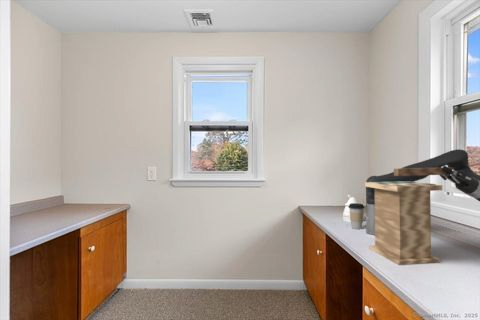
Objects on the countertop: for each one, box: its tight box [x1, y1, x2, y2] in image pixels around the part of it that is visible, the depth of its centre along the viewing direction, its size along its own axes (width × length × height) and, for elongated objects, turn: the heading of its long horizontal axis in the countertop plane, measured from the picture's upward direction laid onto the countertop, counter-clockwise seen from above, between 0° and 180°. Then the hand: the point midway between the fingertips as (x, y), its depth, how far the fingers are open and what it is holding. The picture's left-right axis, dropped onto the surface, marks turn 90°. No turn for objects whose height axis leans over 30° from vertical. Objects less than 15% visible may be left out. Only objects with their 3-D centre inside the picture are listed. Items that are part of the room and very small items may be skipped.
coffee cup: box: [349, 202, 365, 230], centre depth 184 cm, size 9×9×15 cm
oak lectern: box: [364, 181, 443, 266], centre depth 132 cm, size 20×24×32 cm
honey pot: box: [342, 194, 364, 223], centre depth 206 cm, size 13×13×18 cm
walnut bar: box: [393, 166, 454, 176], centre depth 127 cm, size 26×3×3 cm, turn 97°
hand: (440, 167), depth 128 cm, fingers closed on walnut bar, 3 cm apart
